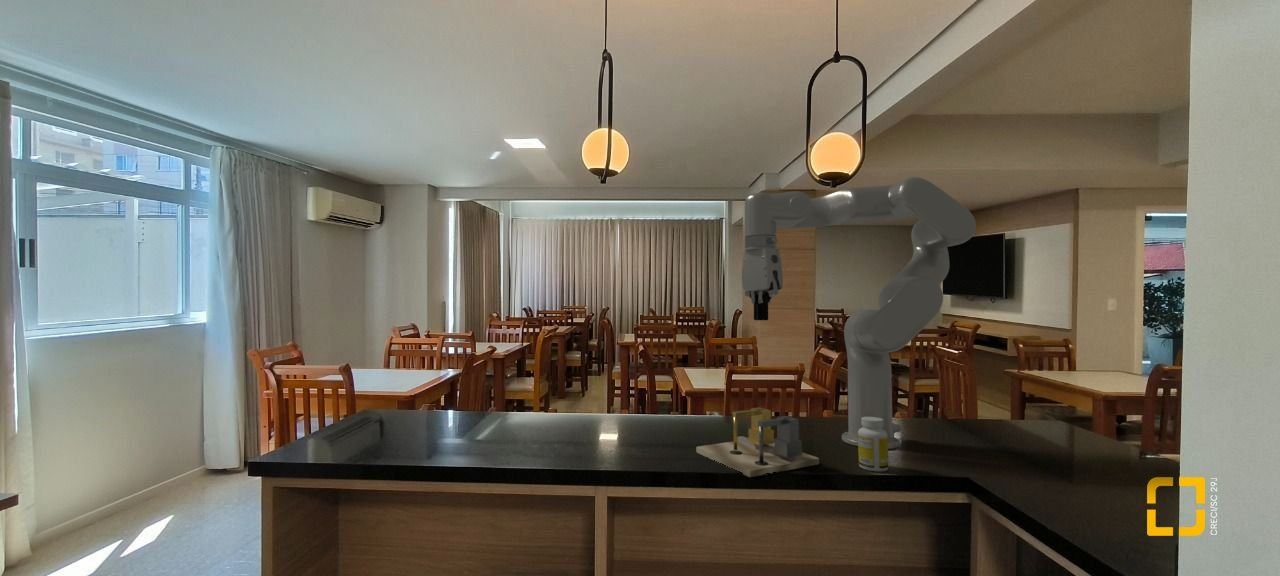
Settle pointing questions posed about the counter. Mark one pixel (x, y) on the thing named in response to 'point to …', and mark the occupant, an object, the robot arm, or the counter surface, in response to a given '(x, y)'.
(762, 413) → the slider leg
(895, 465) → the counter surface
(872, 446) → the supplement bottle
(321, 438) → the counter surface
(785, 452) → the fixed leg
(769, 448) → the board
